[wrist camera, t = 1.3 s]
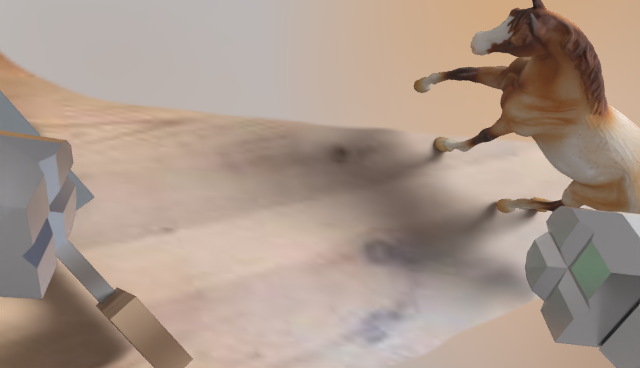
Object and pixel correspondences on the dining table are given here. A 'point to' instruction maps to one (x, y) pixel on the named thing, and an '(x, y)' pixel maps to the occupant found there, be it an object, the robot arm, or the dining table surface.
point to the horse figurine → (555, 110)
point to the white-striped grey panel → (10, 119)
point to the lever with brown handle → (126, 314)
